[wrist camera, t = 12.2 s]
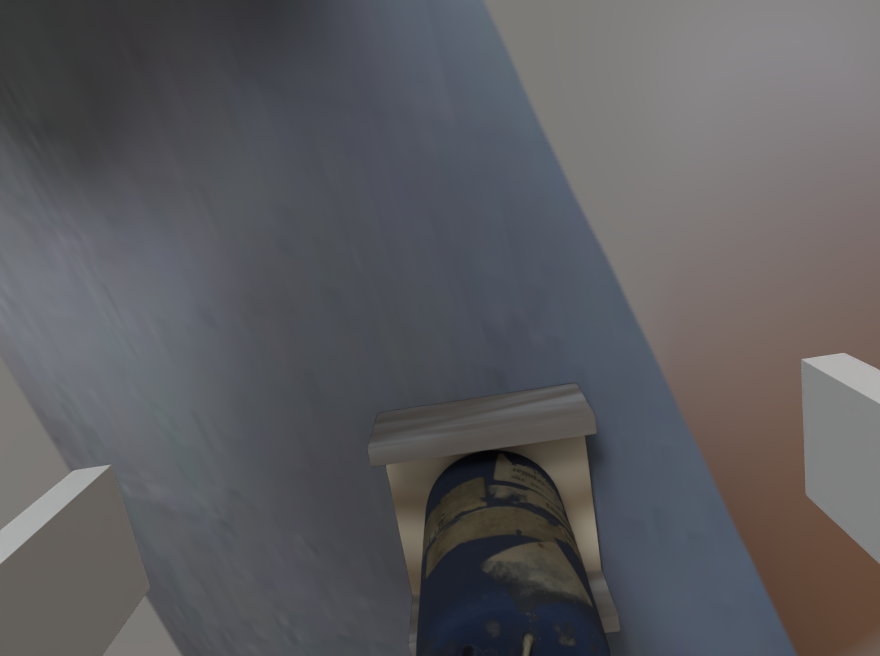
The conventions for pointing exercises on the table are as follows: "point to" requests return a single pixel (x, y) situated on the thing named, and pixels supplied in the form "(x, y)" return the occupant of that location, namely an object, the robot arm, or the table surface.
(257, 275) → the table surface
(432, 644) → the canister
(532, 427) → the keeper cradle
